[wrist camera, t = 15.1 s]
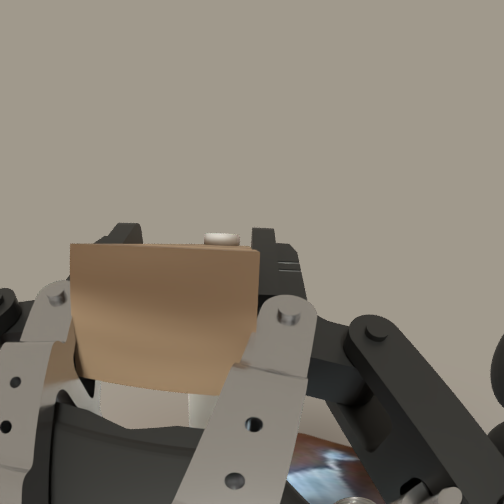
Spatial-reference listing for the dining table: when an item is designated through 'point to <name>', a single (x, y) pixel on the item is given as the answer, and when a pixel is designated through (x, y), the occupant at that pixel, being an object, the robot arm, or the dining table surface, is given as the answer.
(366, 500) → the soda can
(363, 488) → the dining table surface
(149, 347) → the beam
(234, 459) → the robot arm
